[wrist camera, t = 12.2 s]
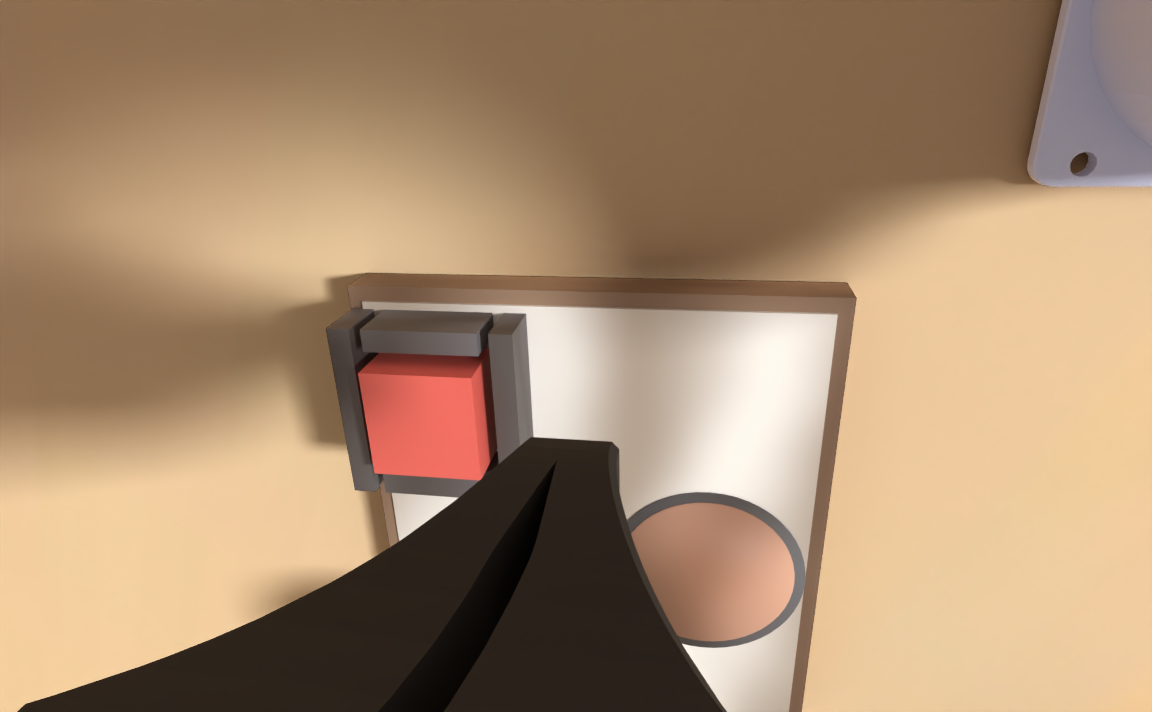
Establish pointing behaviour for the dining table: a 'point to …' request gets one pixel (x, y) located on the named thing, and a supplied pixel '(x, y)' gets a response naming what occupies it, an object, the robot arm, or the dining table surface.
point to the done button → (430, 414)
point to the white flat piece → (650, 433)
